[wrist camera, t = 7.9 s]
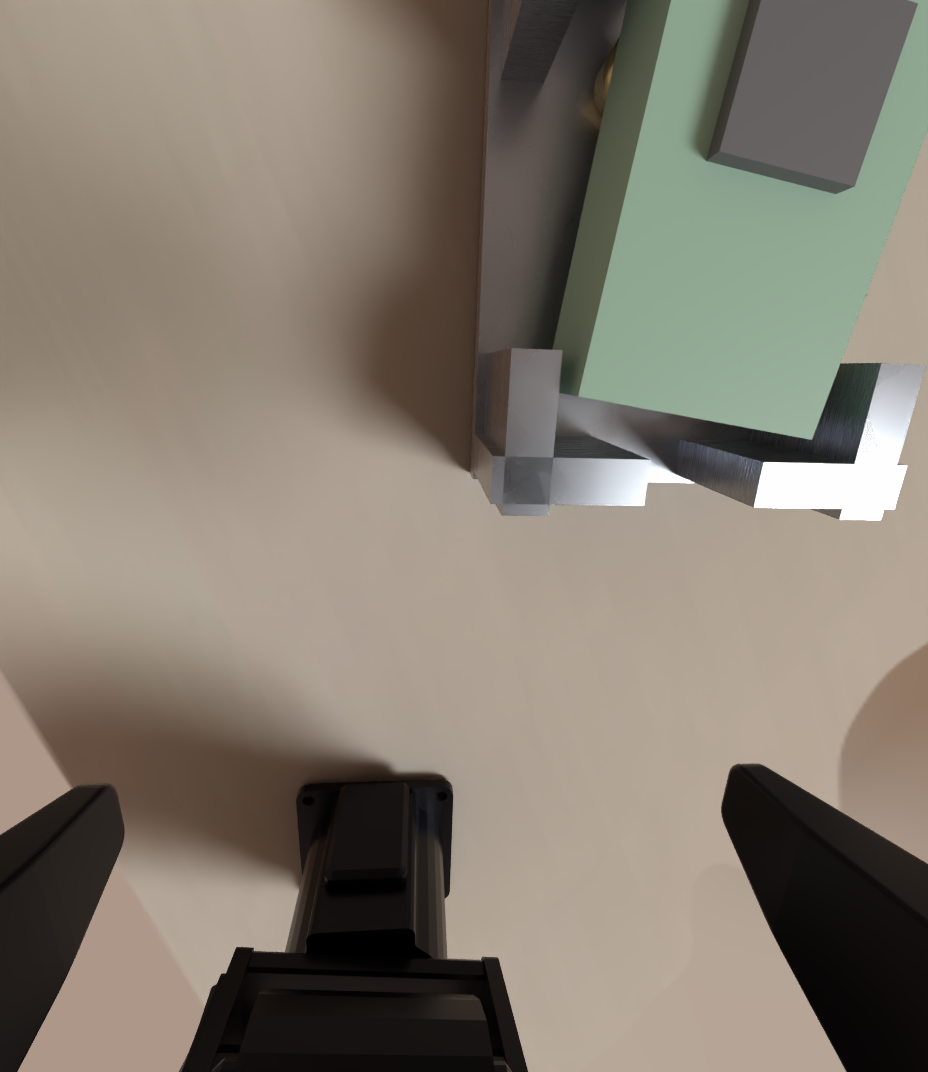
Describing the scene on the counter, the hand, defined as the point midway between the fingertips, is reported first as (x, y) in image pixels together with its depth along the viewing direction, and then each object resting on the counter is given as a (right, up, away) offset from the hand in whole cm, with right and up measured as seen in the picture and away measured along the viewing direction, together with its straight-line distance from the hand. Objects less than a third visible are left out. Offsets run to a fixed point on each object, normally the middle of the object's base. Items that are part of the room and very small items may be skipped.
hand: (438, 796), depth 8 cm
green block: (+7, +12, +7) cm, 15 cm away
